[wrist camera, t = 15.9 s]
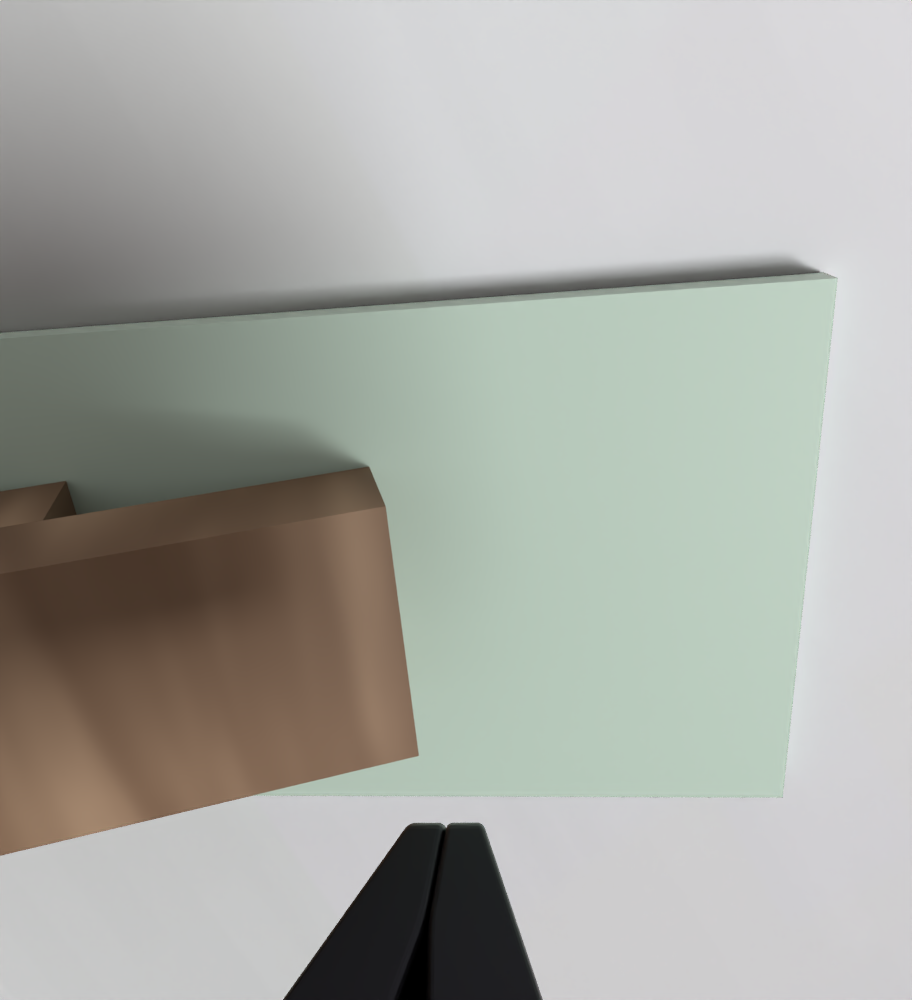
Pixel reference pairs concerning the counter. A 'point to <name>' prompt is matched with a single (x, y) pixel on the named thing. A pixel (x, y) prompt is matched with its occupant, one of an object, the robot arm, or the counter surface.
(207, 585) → the domino
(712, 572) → the board
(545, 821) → the counter surface
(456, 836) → the robot arm
